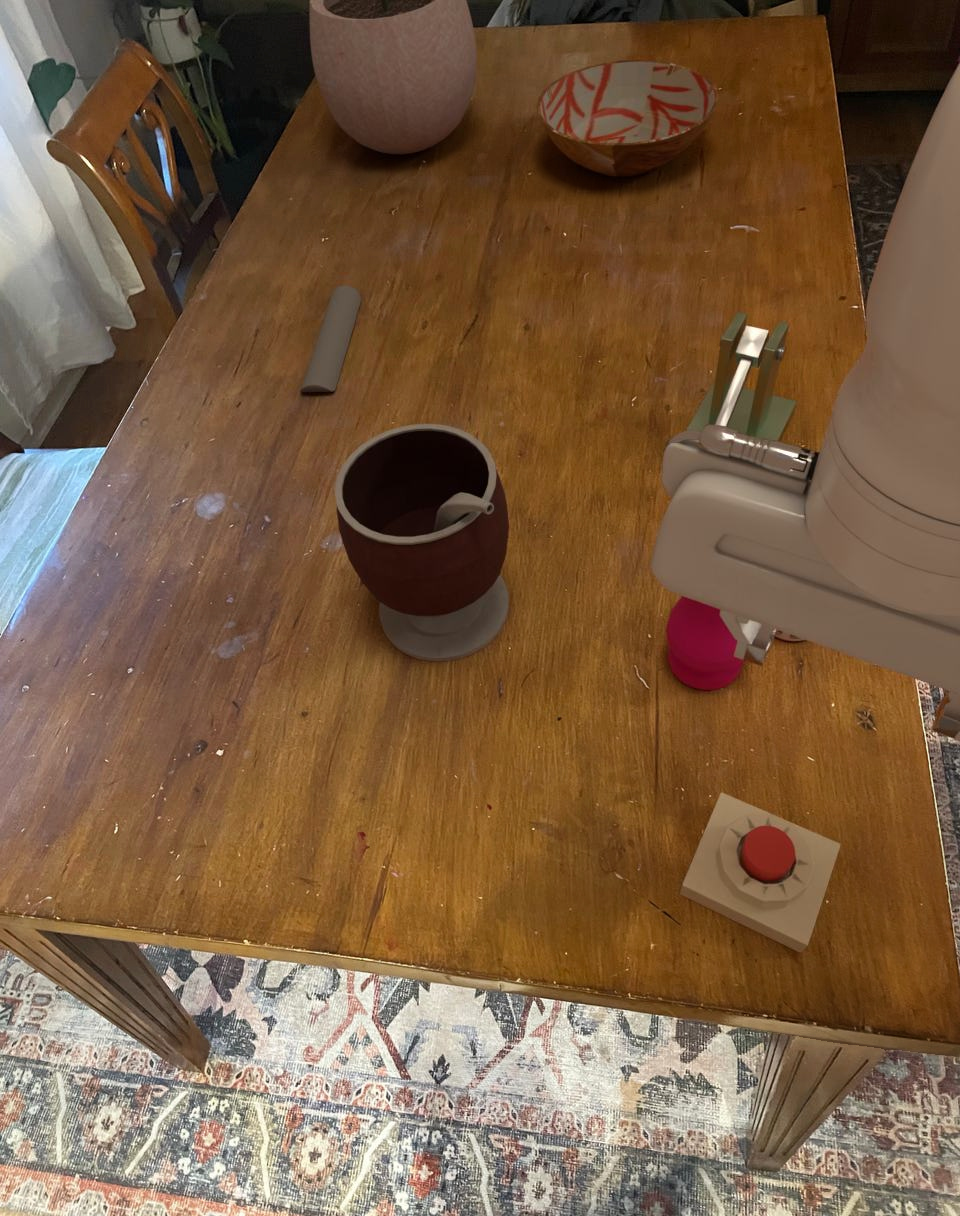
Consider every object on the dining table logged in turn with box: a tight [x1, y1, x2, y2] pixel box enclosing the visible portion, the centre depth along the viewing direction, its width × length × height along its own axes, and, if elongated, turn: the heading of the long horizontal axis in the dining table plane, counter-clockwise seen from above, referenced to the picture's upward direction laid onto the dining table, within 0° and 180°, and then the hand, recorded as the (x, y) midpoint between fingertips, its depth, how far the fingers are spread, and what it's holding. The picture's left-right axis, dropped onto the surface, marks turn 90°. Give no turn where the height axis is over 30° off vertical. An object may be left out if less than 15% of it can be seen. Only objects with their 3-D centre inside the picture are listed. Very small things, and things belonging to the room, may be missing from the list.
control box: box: [679, 792, 841, 954], centre depth 61 cm, size 9×8×4 cm
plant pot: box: [309, 0, 477, 155], centre depth 122 cm, size 24×24×30 cm
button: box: [741, 826, 795, 881], centre depth 59 cm, size 3×3×2 cm
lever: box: [715, 325, 770, 427], centre depth 81 cm, size 14×3×3 cm
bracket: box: [685, 311, 798, 442], centre depth 85 cm, size 11×9×13 cm
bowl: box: [535, 59, 719, 178], centre depth 122 cm, size 25×25×8 cm
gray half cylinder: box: [299, 285, 362, 393], centre depth 105 cm, size 4×20×2 cm, turn 175°
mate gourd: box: [334, 423, 510, 663], centre depth 72 cm, size 16×14×20 cm
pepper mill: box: [665, 596, 746, 691], centre depth 66 cm, size 7×7×20 cm
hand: (847, 686), depth 41 cm, fingers open, 8 cm apart
